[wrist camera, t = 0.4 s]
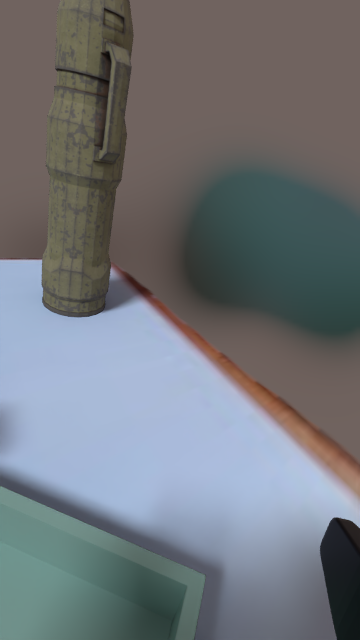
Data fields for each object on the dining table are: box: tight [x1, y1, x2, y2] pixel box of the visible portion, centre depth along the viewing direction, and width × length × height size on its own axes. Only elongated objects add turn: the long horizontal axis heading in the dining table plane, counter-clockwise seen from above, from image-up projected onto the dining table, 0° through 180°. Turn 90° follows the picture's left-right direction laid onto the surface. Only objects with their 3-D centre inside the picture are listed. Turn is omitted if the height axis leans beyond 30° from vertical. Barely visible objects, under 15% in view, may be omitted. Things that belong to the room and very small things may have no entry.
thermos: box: [42, 0, 133, 317], centre depth 42 cm, size 9×12×35 cm
